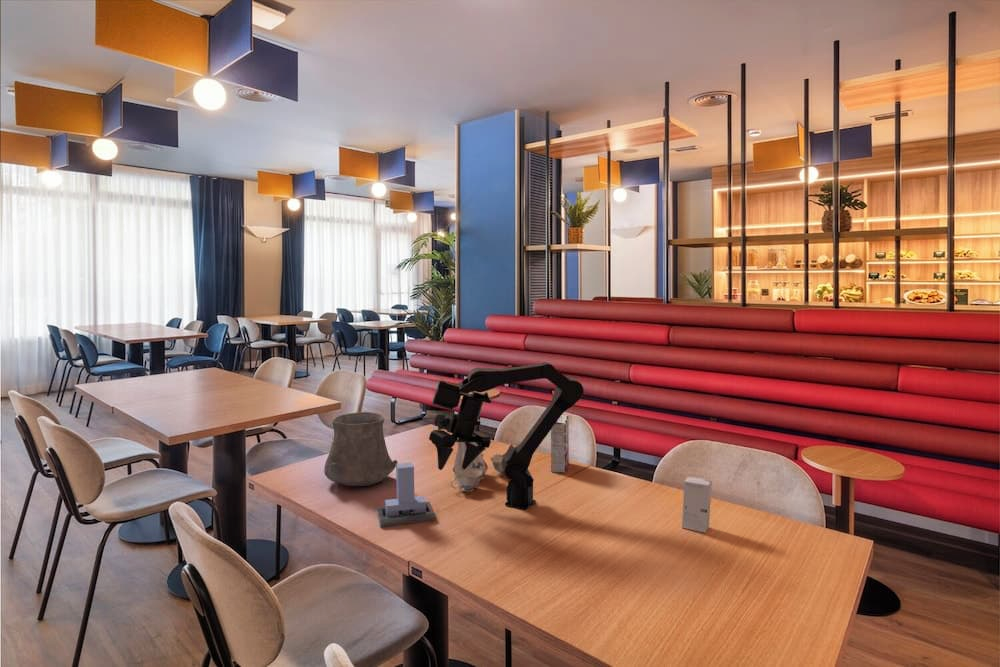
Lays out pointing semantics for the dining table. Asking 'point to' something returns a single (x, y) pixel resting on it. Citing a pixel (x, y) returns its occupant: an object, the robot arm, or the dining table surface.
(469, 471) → the chinaware
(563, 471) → the candy bar box
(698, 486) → the skincare box
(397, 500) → the blue-gray inverted t block
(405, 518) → the rail
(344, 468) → the vessel
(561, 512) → the dining table surface
